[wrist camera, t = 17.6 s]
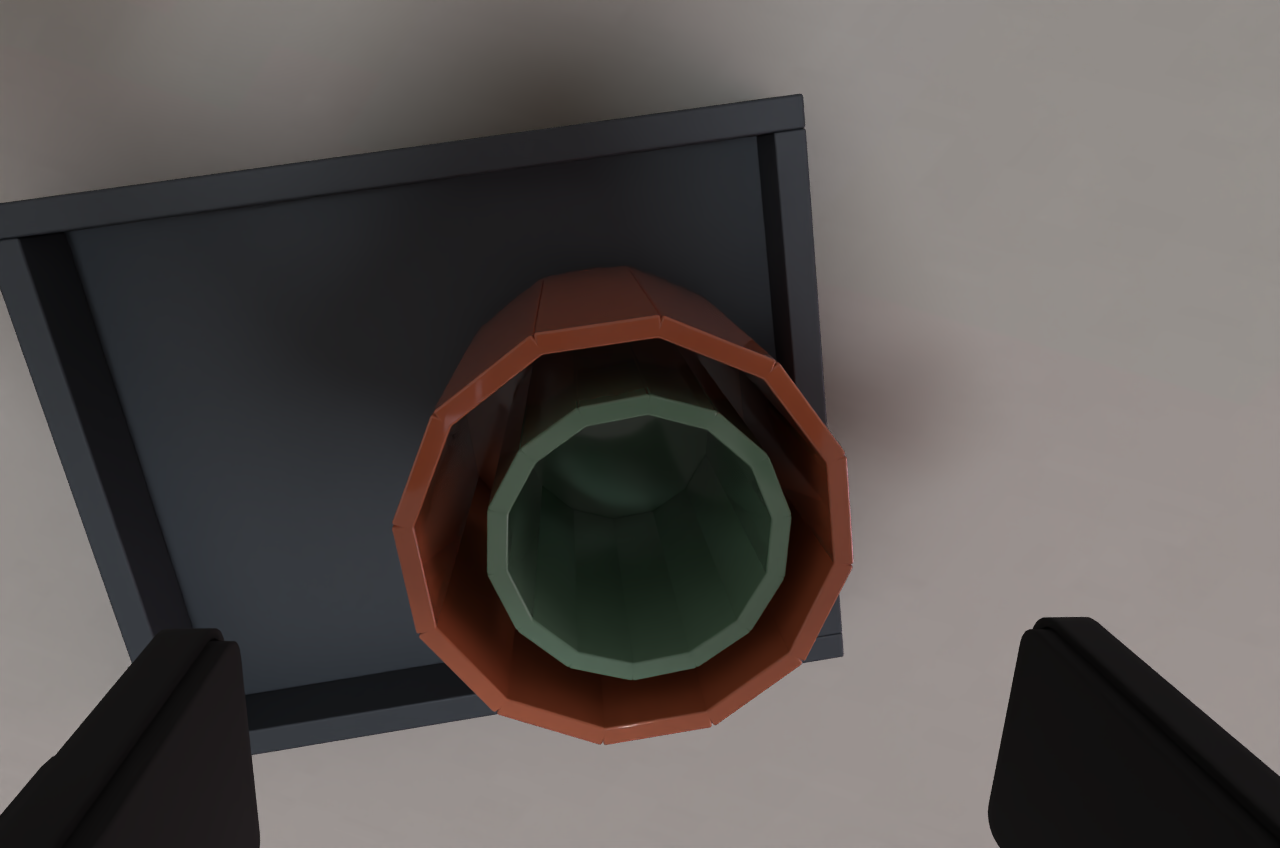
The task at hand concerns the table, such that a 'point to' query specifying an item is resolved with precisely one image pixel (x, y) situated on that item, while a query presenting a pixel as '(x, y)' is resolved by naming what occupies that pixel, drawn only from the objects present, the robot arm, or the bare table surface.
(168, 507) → the tray
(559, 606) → the sage cup
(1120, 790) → the robot arm
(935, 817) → the table surface
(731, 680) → the terracotta cup
